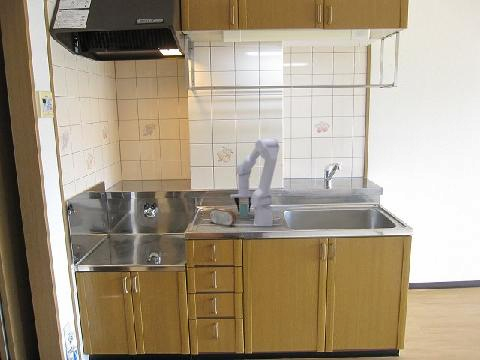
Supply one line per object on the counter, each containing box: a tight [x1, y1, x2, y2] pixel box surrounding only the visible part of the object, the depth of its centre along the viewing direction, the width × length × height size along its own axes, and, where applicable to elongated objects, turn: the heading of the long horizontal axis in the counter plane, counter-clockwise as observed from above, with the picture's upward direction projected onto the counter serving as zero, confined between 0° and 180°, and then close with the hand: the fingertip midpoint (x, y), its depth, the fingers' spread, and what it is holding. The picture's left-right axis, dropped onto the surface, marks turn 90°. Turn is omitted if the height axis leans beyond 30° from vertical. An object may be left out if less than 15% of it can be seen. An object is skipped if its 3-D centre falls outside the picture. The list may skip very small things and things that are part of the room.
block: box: [239, 203, 249, 217], centre depth 212 cm, size 4×4×6 cm
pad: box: [235, 213, 253, 221], centre depth 213 cm, size 9×8×1 cm
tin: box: [208, 206, 237, 227], centre depth 199 cm, size 15×3×8 cm, turn 59°
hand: (243, 211), depth 212 cm, fingers open, 5 cm apart
